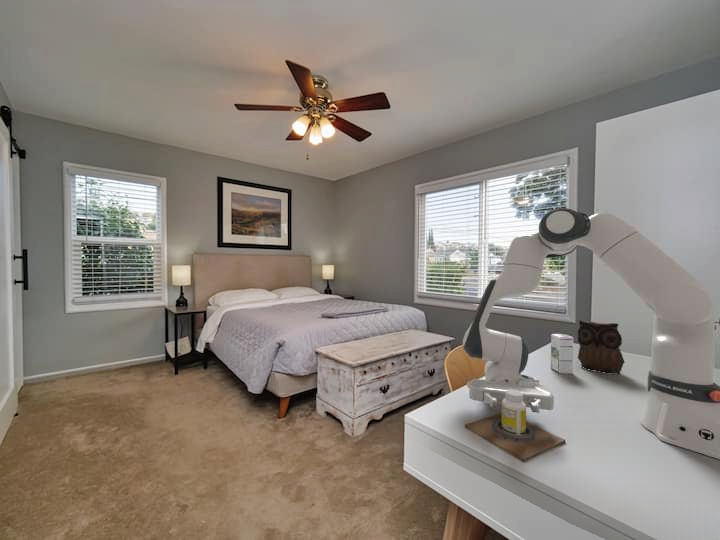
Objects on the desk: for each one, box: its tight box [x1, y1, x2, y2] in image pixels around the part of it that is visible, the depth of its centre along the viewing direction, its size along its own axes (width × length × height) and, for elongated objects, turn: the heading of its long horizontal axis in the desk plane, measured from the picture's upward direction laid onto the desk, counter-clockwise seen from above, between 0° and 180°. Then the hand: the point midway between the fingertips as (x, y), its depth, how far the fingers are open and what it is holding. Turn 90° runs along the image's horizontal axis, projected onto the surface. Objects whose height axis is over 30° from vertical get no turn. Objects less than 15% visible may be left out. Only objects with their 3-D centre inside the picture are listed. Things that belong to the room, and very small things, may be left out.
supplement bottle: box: [501, 389, 527, 436], centre depth 76 cm, size 5×5×10 cm
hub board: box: [464, 412, 566, 463], centre depth 76 cm, size 16×16×2 cm
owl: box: [577, 319, 626, 375], centre depth 127 cm, size 13×13×20 cm
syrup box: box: [550, 333, 574, 374], centre depth 124 cm, size 6×6×14 cm
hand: (514, 406), depth 75 cm, fingers open, 8 cm apart
